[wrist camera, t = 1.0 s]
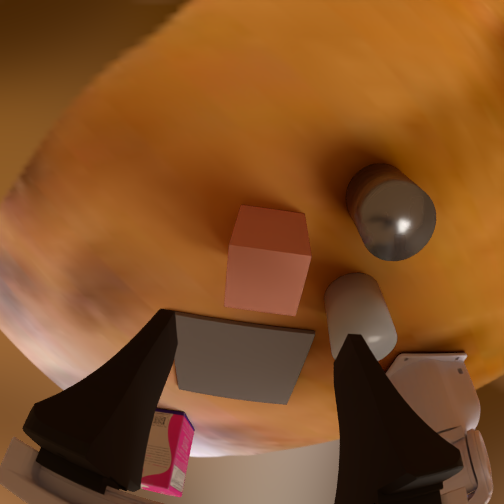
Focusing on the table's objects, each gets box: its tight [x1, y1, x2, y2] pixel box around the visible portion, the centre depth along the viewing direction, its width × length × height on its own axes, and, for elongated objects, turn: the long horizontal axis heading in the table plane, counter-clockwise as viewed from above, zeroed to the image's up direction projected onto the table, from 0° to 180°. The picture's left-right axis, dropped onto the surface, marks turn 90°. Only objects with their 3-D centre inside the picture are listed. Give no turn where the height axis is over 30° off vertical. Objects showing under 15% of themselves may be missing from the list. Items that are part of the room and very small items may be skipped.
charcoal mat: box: [174, 311, 315, 405], centre depth 27 cm, size 12×12×1 cm
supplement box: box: [141, 408, 194, 497], centre depth 31 cm, size 6×6×12 cm
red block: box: [224, 205, 312, 316], centre depth 17 cm, size 4×4×5 cm
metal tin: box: [346, 164, 436, 261], centre depth 16 cm, size 4×4×4 cm
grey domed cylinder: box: [324, 273, 397, 361], centre depth 19 cm, size 4×4×5 cm
